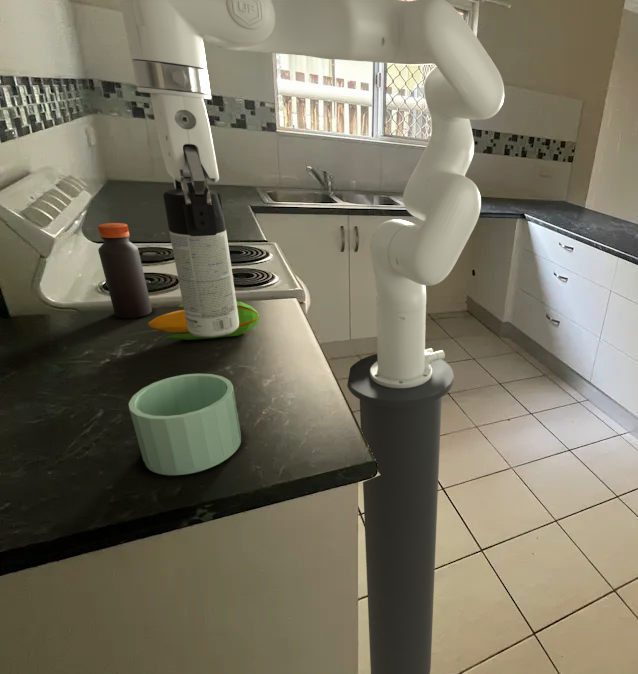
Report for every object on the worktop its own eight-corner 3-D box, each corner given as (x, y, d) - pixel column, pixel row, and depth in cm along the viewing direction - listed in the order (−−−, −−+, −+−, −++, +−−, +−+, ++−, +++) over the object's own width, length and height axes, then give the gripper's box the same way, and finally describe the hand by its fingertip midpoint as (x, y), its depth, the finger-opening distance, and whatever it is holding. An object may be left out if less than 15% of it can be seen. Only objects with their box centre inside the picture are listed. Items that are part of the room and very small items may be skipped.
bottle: (156, 314, 108) (136, 227, 100) (119, 321, 103) (95, 229, 95) (147, 306, 112) (127, 221, 104) (111, 312, 107) (88, 223, 99)
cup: (230, 416, 76) (222, 366, 72) (250, 455, 68) (242, 401, 64) (139, 440, 68) (124, 386, 65) (149, 487, 60) (133, 429, 57)
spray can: (245, 321, 74) (227, 189, 67) (232, 338, 68) (210, 196, 60) (198, 320, 73) (174, 186, 65) (180, 338, 67) (151, 193, 59)
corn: (256, 303, 99) (139, 311, 91) (260, 337, 102) (147, 348, 93) (256, 294, 105) (146, 300, 97) (260, 326, 108) (154, 335, 99)
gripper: (223, 87, 54) (243, 242, 61) (197, 87, 66) (216, 216, 73) (142, 77, 49) (174, 246, 57) (129, 79, 61) (157, 218, 68)
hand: (197, 228), depth 65 cm, fingers closed on spray can, 6 cm apart
